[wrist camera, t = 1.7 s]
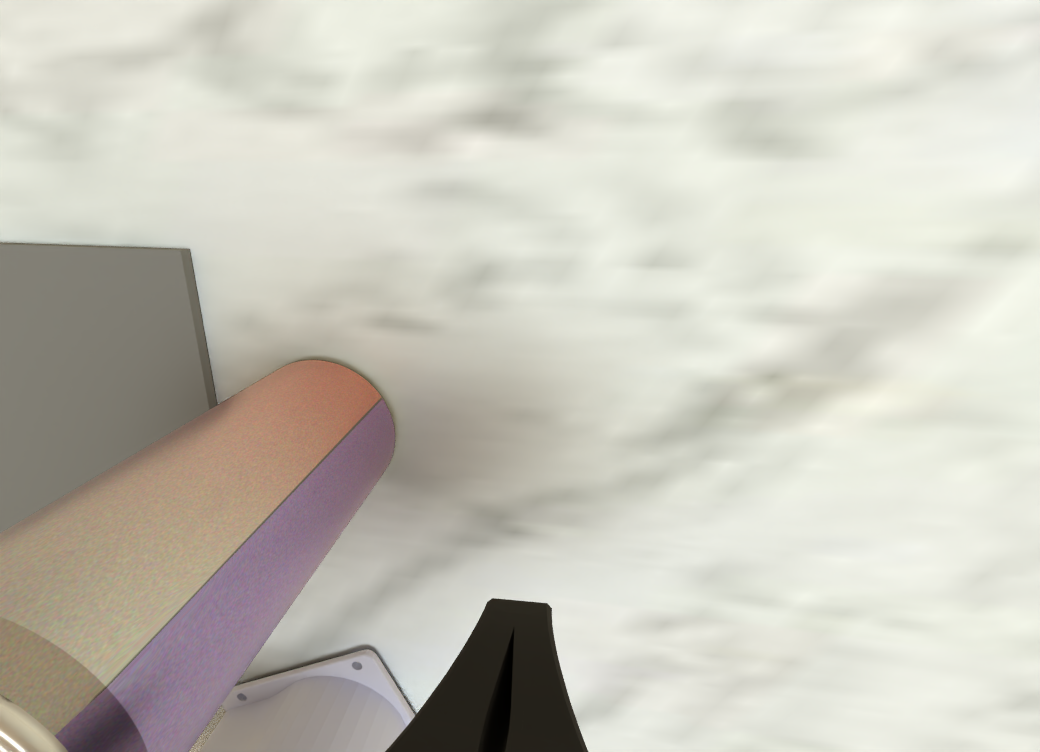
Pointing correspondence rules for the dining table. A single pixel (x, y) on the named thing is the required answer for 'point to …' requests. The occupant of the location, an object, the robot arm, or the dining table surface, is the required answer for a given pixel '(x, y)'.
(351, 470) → the beverage can
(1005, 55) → the dining table surface
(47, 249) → the mat
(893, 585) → the dining table surface
